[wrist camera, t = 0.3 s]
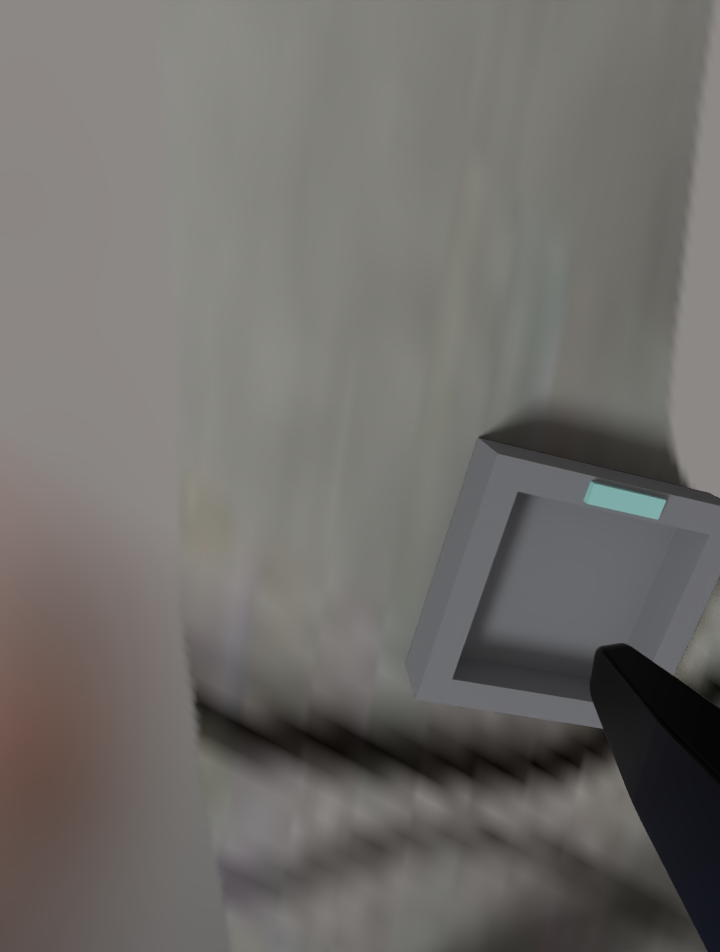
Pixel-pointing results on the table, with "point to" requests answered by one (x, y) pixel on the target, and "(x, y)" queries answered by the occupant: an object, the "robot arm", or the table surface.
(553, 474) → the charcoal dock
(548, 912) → the table surface
